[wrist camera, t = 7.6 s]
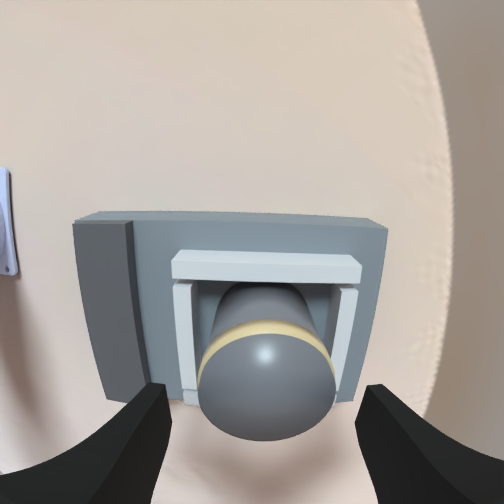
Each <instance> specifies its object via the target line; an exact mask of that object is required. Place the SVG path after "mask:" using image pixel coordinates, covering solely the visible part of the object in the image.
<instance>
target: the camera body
mask: <svg viewBox="0 0 504 504" xmlns="http://www.w3.org/2000/svg"><path fill="white" fill-rule="evenodd" d="M387 235H388V228H386V227H384V226H382V225H380V224H378V223H376V222H374V221H372V220H369V219H367V218H351V217H334V216H316V215H295V214H271V213H240V212H191V211H111V212H97V213H94V214H91V215H89V216H86V217H83V218H80V219H77V220H75V223H74V224H73V236H74V246H75V255H76V263H77V271H78V278H79V284H80V290H81V296H82V302H83V307H84V313H85V318H86V323H87V327H88V332H89V336H90V341H91V345H92V349H93V353H94V357H95V361H96V364H97V368H98V372H99V375H100V379H101V382H102V386H103V389H104V392H105V395H106V398H107V399H108V400H113V401H118V402H124V403H129V402H130V401H131V400H132V399H133V398H134V397H135V396H136V394H137V393H138V392H139V391H140V390H141V389H142V388H143V387H144V386H145V385H146V384H147V383H149V382H153V383H161V384H165V385H166V391H167V397H168V399H177V400H184V404H185V405H196V406H200V405H199V401H198V387H197V378H198V373H199V369H200V365H201V361H202V358H203V355H204V353H205V351H206V349H207V347H208V343H209V339H210V334H211V330H212V326H213V322H214V318H215V313H216V309H217V306H218V303H219V301H220V299H221V298H222V296H223V295H224V294H225V292H226V291H227V290H228V289H229V288H231V287H232V286H233V285H235V284H236V283H238V282H240V281H250V282H287V283H290V284H291V285H293V286H294V287H295V288H296V289H297V290H299V292H300V293H301V294H302V295H303V297H304V299H305V300H306V303H307V305H308V308H309V311H310V313H311V316H312V319H313V321H314V324H315V327H316V329H317V332H318V335H319V337H320V340H321V341H322V343H323V344H324V346H325V347H326V349H327V351H328V354H329V357H330V359H331V362H332V365H333V367H334V372H335V383H336V395H335V399H334V402H333V405H332V407H334V405H335V402H346V401H353V398H354V395H355V392H356V388H357V385H358V381H359V377H360V374H361V370H362V366H363V362H364V358H365V354H366V350H367V346H368V342H369V338H370V333H371V329H372V324H373V319H374V315H375V310H376V305H377V299H378V294H379V288H380V283H381V277H382V271H383V264H384V257H385V250H386V243H387Z"/></svg>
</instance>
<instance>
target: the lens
mask: <svg viewBox="0 0 504 504" xmlns="http://www.w3.org/2000/svg"><path fill="white" fill-rule="evenodd" d="M197 387H198V401H199V405H200V407H201V410H202V411H203V413H204V415H205V416H206V417H207V419H208V420H209V421H210V422H211V423H212V424H213V425H215V426H216V427H217V428H219V429H220V430H222V431H224V432H225V433H228V434H230V435H232V436H235V437H238V438H242V439H246V440H252V441H276V440H282V439H287V438H290V437H293V436H296V435H299V434H301V433H303V432H305V431H307V430H309V429H310V428H312V427H313V426H315V425H316V424H317V423H319V422H320V421H321V420H322V419H323V418H324V417H325V416H326V414H327V413H328V412H329V410H330V408H331V407H332V405H333V402H334V399H335V395H336V383H335V372H334V367H333V365H332V362H331V359H330V357H329V354H328V351H327V349H326V347H325V346H324V344H323V343H322V341H321V340H320V337H319V335H318V332H317V329H316V327H315V324H314V321H313V319H312V316H311V313H310V311H309V308H308V305H307V303H306V300H305V299H304V297H303V295H302V294H301V293H300V292H299V290H297V289H296V288H295V287H294V286H293V285H291V284H290V283H287V282H250V281H240V282H238V283H236V284H235V285H233V286H232V287H231V288H229V289H228V290H227V291H226V292H225V294H224V295H223V296H222V298H221V299H220V301H219V303H218V306H217V309H216V313H215V318H214V322H213V326H212V330H211V334H210V339H209V343H208V347H207V349H206V351H205V353H204V355H203V358H202V361H201V365H200V369H199V373H198V378H197Z"/></svg>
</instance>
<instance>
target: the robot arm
mask: <svg viewBox="0 0 504 504" xmlns="http://www.w3.org/2000/svg"><path fill="white" fill-rule="evenodd" d="M8 268H9V269H8ZM17 272H18V267H17V261H16V254H15V248H14V240H13V232H12V222H11V210H10V194H9V171H8V169H7V168H0V274H3V275H11V276H13V275H16V274H17ZM171 426H172V418H171V413H170V408H169V402H168V397H167V391H166V385H165V384H161V383H153V382H149V383H147V384H146V385H145V386H144V387H143V388H142V389H141V390H140V391H139V392H138V393H137V394H136V396H135V397H134V398H133V399H132V400H131V401H130V402H129V403H128V404H127V405H126V406H124V407H123V408H122V409H121V410H120V411H119V412H118V413H117V414H116V415H115V416H114V417H113V418H112V419H110V420H109V421H108V422H107V423H106V424H104V425H103V426H102V427H101V428H100V429H98V430H97V431H96V432H95V433H93V434H92V435H91V436H89V437H88V438H86V439H85V440H84V441H82V442H81V443H79V444H78V445H76V446H74V447H73V448H71V449H69V450H67V451H66V452H64V453H62V454H60V455H58V456H56V457H54V458H52V459H50V460H48V461H45V462H43V463H41V464H38V465H35V466H33V467H30V468H27V469H24V470H20V471H17V472H13V473H8V474H4V475H0V504H151V499H152V495H153V491H154V488H155V485H156V481H157V478H158V475H159V472H160V469H161V466H162V463H163V460H164V456H165V453H166V450H167V447H168V443H169V438H170V432H171ZM355 427H356V432H357V437H358V442H359V446H360V449H361V452H362V455H363V457H364V460H365V463H366V466H367V469H368V471H369V474H370V477H371V480H372V483H373V486H374V488H375V492H376V495H377V499H378V504H504V461H503V460H500V459H496V458H493V457H490V456H488V455H485V454H482V453H480V452H477V451H475V450H473V449H471V448H468V447H466V446H464V445H462V444H460V443H459V442H457V441H455V440H454V439H452V438H450V437H448V436H447V435H445V434H444V433H442V432H440V431H439V430H438V429H436V428H435V427H433V426H432V425H431V424H429V423H428V422H426V421H425V420H424V419H423V418H421V417H420V416H419V415H418V414H416V413H415V412H414V411H413V410H412V409H410V408H409V407H408V406H407V405H406V404H405V403H403V402H402V401H401V400H400V399H399V398H398V397H397V396H395V395H394V394H393V393H392V392H391V391H390V390H388V389H387V388H386V387H385V386H384V385H382V384H377V385H367V387H366V390H365V393H364V396H363V400H362V403H361V406H360V409H359V412H358V415H357V417H356V420H355Z"/></svg>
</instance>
